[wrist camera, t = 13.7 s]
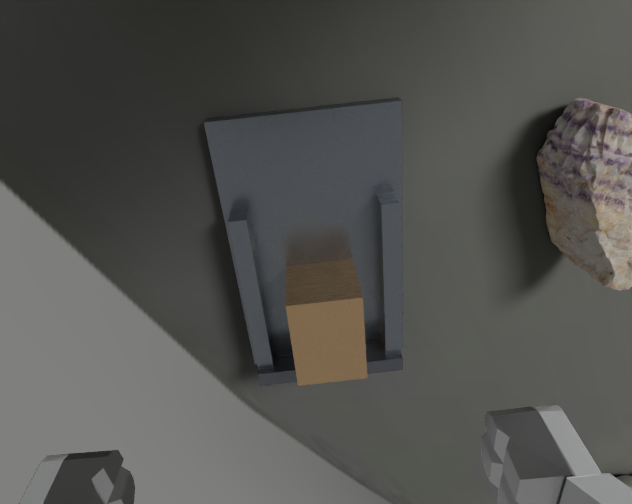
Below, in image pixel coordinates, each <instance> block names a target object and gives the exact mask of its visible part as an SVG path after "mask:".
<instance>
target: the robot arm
mask: <svg viewBox="0 0 632 504" xmlns="http://www.w3.org/2000/svg"><path fill="white" fill-rule="evenodd" d="M483 424H484V426H485V428H486V431H487V432H485V433H484V434H483V435H482V437H481V452H482V459H483V463H484V467H485V470H486V473H487V476H488V478H489V481H490V482H492V483H493V484H494V485H495V486H496V487H498V488H499V491H498V498H497V502H498V504H632V489H631V488H630V487H629V486H627V485H626V484H624V483H623V482H621V481H620V480H618V479H617V478H616V477H614V476H613V475H611V474H610V473H601V472H600V470H599V468H598V467H597V465H596V463H595V462H594V460H593V459H592V457H591V455H590V454H589V452H588V451H587V449H586V447H585V446H584V444H583V442H582V441H581V439H580V438H579V436H578V434H577V433H576V431H575V429H574V428H573V426H572V425H571V423H570V421H569V420H568V418H567V417H566V415H565V413H564V412H563V410H562V409H561V408H560V407H559V406H558V405H547V406H538V407H523V408H515V409H506V410H497V411H489V412H486V414H485V415H484V421H483ZM122 462H123V457H122V456H121V454H120V452H119V451H118V450H112V451H99V452H87V453H74V454H61V455H51V456H47V457H46V458H45V459H44V460H43V461H42V462H41V463H40V464H39V466H38V468H37V470H36V472H35V474H34V476H33V478H32V480H31V482H30V483H29V485H28V487H27V489H26V491H25V493H24V495H23V497H22V499H21V501H20V503H19V504H134V494H135V485H134V480H133V477H132V475H131V473H130V471H128V470H126V469H124V468H123V467H121V465H122Z"/></svg>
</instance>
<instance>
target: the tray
mask: <svg viewBox="0 0 632 504" xmlns="http://www.w3.org/2000/svg"><path fill="white" fill-rule="evenodd" d="M204 126H205V131H206V136H207V141H208V145H209V150H210V155H211V160H212V164H213V169H214V174H215V178H216V183H217V188H218V193H219V197H220V202H221V207H222V212H223V216H224V221H225V226H226V231H227V235H228V240H229V245H230V249H231V254H232V259H233V264H234V268H235V273H236V278H237V283H238V287H239V292H240V297H241V301H242V306H243V311H244V316H245V320H246V325H247V330H248V335H249V339H250V344H251V349H252V354H253V358H254V363H255V364H257V365H258V376H259V381H260V385H261V386H263V385H272V384H281V383H290V382H297V376H296V370H295V363H294V357H293V351H292V344H291V338H290V331H289V325H288V319H287V312H286V267H287V266H296V265H305V264H314V263H323V262H332V261H341V260H350V259H353V261H354V265H355V269H356V272H357V276H358V280H359V284H360V288H361V292H362V296H363V308H364V326H365V343H366V361H367V374H370V373H379V372H388V371H397V370H403V358H402V355H401V348H403V227H402V100H400V99H399V98H391V99H381V100H372V101H363V102H354V103H345V104H336V105H327V106H318V107H309V108H300V109H291V110H282V111H273V112H264V113H255V114H245V115H236V116H227V117H218V118H209V119H206V120H205V121H204Z"/></svg>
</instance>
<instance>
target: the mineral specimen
mask: <svg viewBox="0 0 632 504" xmlns="http://www.w3.org/2000/svg"><path fill="white" fill-rule="evenodd" d="M536 160H537V164H538V171H539V175H540V181H541V186H542V190H543V194H544V195H545V197H544V202H545V205H546V223H547V227H548V231H549V233H550V234H549V235H550V239H551V241H552V242H553V243H554V244H555V245H556V246H557V247H558V248H559V251H561V252H563V253H564V254H565V256H566V257H567V258H568V259H569V260H571V261H572V262H573V263H574V264H575V265H577V266H579V267H580V268H581V269H583V270H585V271H587V272H588V273H589V274H590V275H591V276H592V277H593V278H594V279H596V280H597V281H598V282H599V283H600V284H601V285H603V286H606V287H609V288H612V289H616V290H628V289H629V288H630V287H631V286H632V114H631V113H628V112H626V111H624V110H622V109H619V108H615V107H611V106H608V105H605V104H601V103H597V102H593V101H591V100H588V99H584V98H577V99H574V100H572V101H571V102H570V103H569V105H568V106H567V107H566V109H565V110H564V112H563V115H562V116H560V117H559V118H558V119H557V121H556V123H555V126H554V129H553V130H550V131H549V132H548V133H547V139H546V142H545V143H544V145H543V147H542V149H540V150H539V152H538V155H537V159H536Z"/></svg>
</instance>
